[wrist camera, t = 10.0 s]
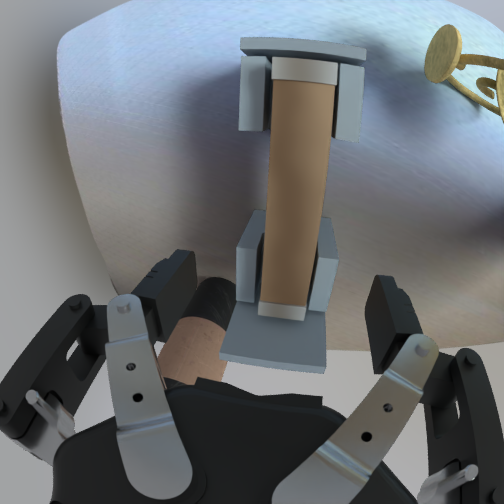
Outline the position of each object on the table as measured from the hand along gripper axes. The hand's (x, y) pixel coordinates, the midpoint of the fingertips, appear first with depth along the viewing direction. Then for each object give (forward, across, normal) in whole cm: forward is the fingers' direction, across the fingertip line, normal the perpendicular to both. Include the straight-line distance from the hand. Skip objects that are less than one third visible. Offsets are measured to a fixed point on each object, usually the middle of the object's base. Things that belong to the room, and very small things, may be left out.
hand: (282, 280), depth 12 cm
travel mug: (+21, +9, +19) cm, 29 cm away
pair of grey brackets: (+20, 0, 0) cm, 20 cm away
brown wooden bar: (+14, 0, 0) cm, 14 cm away
